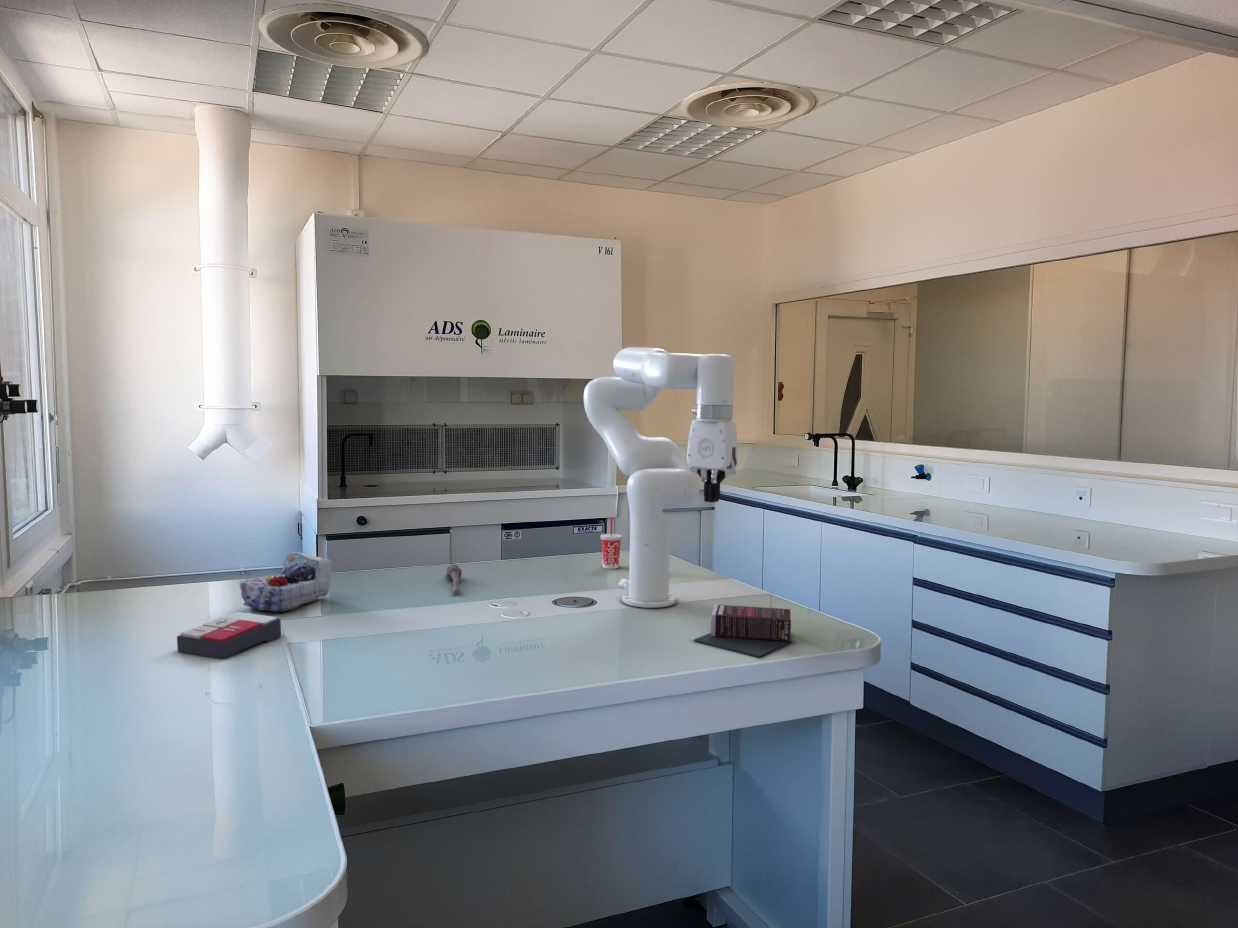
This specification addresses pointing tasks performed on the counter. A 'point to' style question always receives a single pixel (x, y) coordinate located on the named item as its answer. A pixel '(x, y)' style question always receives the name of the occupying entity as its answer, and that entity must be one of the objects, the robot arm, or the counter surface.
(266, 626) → the calculator
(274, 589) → the toy bassinet
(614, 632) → the counter surface
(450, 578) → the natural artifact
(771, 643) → the mat
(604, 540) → the beverage cup
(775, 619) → the supplement box
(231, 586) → the counter surface
